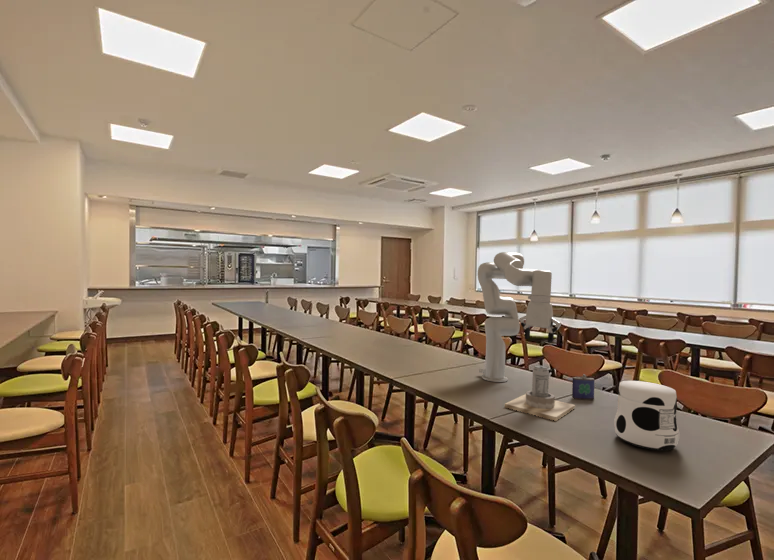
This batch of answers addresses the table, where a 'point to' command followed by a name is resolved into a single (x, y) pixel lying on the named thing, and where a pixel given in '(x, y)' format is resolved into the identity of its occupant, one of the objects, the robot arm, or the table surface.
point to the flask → (583, 387)
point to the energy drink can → (540, 381)
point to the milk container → (647, 415)
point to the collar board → (538, 411)
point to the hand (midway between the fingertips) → (538, 340)
